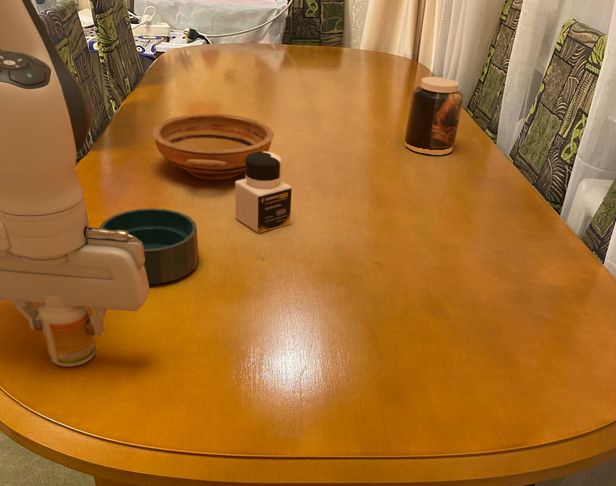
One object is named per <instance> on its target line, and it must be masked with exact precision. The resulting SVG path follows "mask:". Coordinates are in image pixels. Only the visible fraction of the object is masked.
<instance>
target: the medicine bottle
mask: <svg viewBox="0 0 616 486" xmlns="http://www.w3.org/2000/svg"><path fill="white" fill-rule="evenodd" d="M245 160H246V169H245V178H242V179H238V180H236V181H235V182H234V198H235V205H234V207H235V208H234V209H235V219H236V220H237V221H239V222H240V223H241V224H243V225H245V226H247V227H248V228H249V229H251V230H252V231H254V232H255V233H257V234H261V233H265V232H267V231H271V230H275V229H277V228H281V227H284V226H285V227H286V226H288V225H290V224H291V213H292V212H291V210H292V209H291V208H292V190H293V189H292V186H291V185H290V184H288V183H287V182H284V181H283V180H282V158H281V156H280V155H278V154H276V153H274V152H271V151H268V152H265V151H260V152H254V153H251V154H249V155H248V156H247V157H246V159H245Z"/></svg>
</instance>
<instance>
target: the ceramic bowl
mask: <svg viewBox="0 0 616 486" xmlns="http://www.w3.org/2000/svg"><path fill="white" fill-rule="evenodd" d="M151 136H152V138H153V139H154V142H155V146H156V148H157V150H158V152H159V153H160V154H161V155H162V157H163V158H164V159H165V160H166V161H167V162H168V163H170V164H171V165H173V166H175V167H178V168H181V169H183V170H185V171H187V172H188V173H189V174H190V175H192V176H193V177H196V178H200V179H204V180H227V179H232V178H235V177H237V176H239V175H240V174H241V173H242V172H243V171H244V170H245V171H246V160H245V159H246V157H247V156H248V155H249V154H251V153H254V152H260V151H265V152H269V151H270V148H271V144H272V140H273V139H274V132H273V130H272V129H271V128H270V127H269V126H268V125H267V124H265V123H263V122H260V121H258V120H255V119H252V118H248V117H244V116H241V115H235V114H225V113H196V114H194V113H193V114H187V115H181V116H176V117H172V118H167V119H166V120H163V121H161V122H159V123H157V124H156V125H155V126H154V127H153V128H152V130H151Z"/></svg>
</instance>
